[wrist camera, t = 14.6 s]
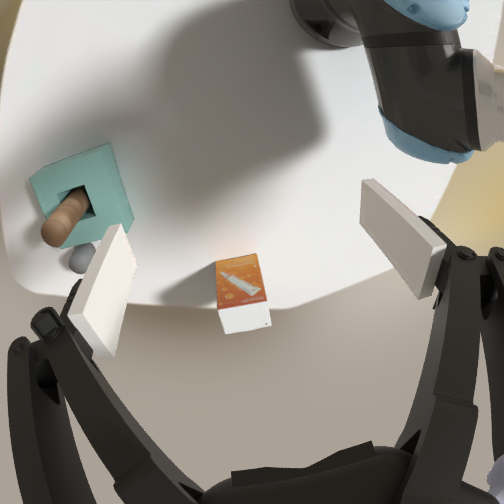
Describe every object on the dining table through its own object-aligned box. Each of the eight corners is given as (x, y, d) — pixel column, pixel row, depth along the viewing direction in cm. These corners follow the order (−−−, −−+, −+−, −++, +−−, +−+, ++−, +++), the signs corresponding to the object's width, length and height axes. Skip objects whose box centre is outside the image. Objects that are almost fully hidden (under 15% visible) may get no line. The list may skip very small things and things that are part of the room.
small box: (256, 252, 56) (268, 300, 45) (260, 277, 59) (272, 326, 49) (214, 260, 55) (216, 310, 45) (221, 285, 59) (225, 335, 49)
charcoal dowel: (74, 243, 49) (65, 258, 45) (90, 239, 49) (82, 254, 45) (82, 259, 51) (74, 275, 47) (98, 256, 51) (91, 272, 47)
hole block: (43, 167, 40) (29, 178, 36) (110, 142, 40) (99, 151, 36) (70, 234, 48) (60, 249, 44) (134, 218, 48) (127, 233, 44)
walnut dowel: (73, 184, 43) (36, 225, 31) (92, 178, 43) (57, 218, 31) (81, 204, 45) (48, 249, 34) (99, 199, 45) (69, 243, 34)
